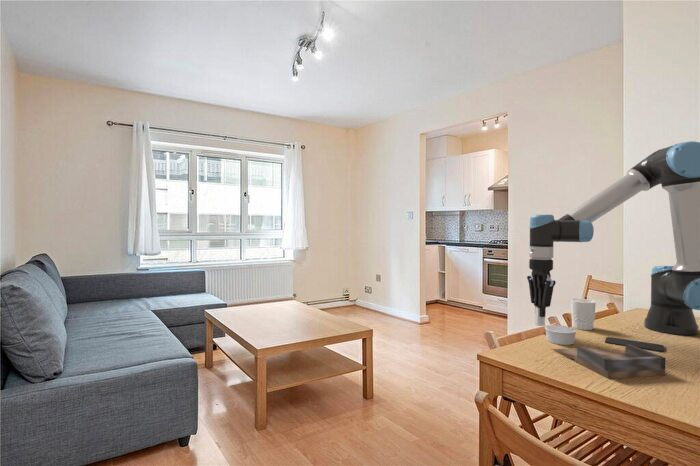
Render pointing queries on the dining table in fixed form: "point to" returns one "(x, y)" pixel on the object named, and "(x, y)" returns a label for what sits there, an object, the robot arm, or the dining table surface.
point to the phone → (635, 344)
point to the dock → (617, 361)
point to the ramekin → (560, 334)
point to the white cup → (583, 313)
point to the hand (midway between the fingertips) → (540, 325)
